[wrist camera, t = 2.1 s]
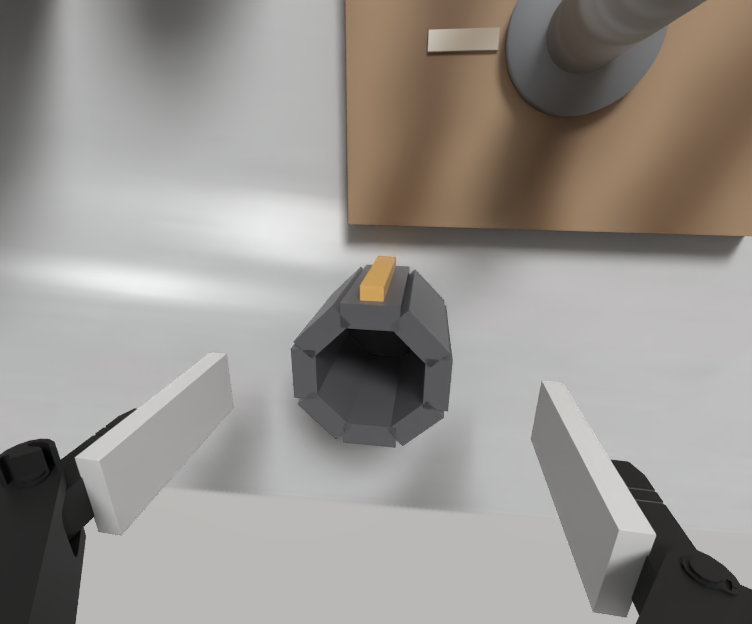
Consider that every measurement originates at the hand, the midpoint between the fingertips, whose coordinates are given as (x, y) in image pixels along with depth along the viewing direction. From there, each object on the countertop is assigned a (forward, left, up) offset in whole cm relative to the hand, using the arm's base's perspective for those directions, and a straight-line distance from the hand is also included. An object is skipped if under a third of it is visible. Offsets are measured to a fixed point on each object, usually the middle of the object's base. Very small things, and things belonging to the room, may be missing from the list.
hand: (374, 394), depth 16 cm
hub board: (+8, +14, -8) cm, 18 cm away
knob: (0, 0, -8) cm, 8 cm away
